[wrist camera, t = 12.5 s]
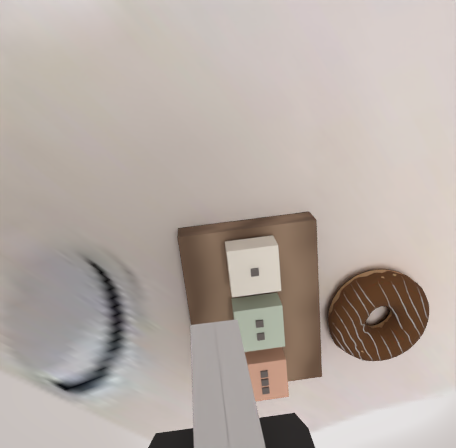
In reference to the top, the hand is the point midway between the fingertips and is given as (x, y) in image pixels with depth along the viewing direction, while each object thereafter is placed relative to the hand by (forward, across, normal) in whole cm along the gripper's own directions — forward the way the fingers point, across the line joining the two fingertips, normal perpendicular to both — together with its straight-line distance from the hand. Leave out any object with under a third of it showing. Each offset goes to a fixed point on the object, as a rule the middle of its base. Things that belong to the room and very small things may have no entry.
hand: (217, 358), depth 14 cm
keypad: (+27, +5, -14) cm, 31 cm away
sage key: (+24, +5, -14) cm, 28 cm away
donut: (+27, +18, -17) cm, 36 cm away
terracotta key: (+24, +5, -20) cm, 32 cm away
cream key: (+24, +4, -8) cm, 26 cm away
